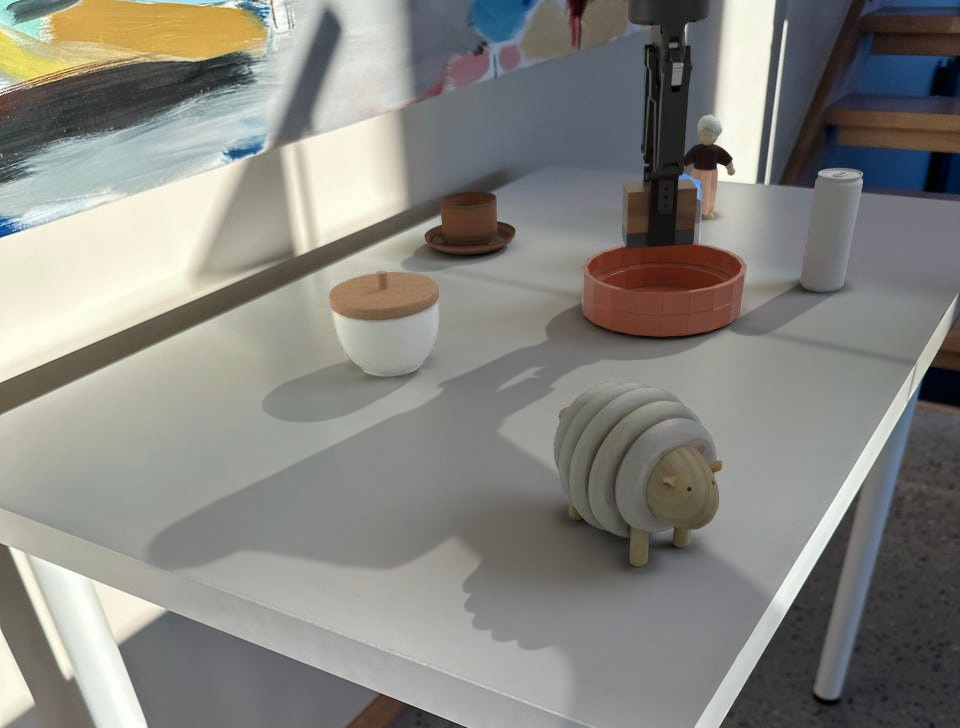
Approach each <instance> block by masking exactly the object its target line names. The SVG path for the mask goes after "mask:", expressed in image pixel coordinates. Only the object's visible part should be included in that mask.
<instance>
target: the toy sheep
mask: <svg viewBox="0 0 960 728" xmlns="http://www.w3.org/2000/svg"><path fill="white" fill-rule="evenodd" d="M558 421H559V422H558V425H557V427H556V431H555V434H554V439H553V458H554V463H555V466H556V469H557V471H558V476H559V478H558V479H559V483H560V486H561V489H562V492H563V494H564V496H565V498H566V499H567V501H568V516H569V518H570V519H571V520H573V521H581V520H584V521H585V522H586V523H588V524H589V525H590V526H592V527H595V528H597V529H599V530H602V531H607V532H609V533H611V534H612V535H615V536H617V537H621V538H622V537H623V538H628V539H629V538H630V540H629V563H630V564H631V565H632V566H634V567H637V568H639V567H644V566H645V565H646V564H647V563H648V559H649V543H650V542H649V541H650V534H653V533H661V532H666V531H670V530H671V529H673V532H672V544H673V545H674V547H677V548H681V549H682V548H687V547H689V545H690V544H691V539H692V531H693V530H699V529H703V528H705V527H706V526H707V525H708V524H709V523H711V522H712V520H714V518H715V516H716V514H717V512H718V510H719V505H720V491H719V486H718V483H717V479H716V477H715V476H716V473H717V472H720V471H722V469H723V461H722V460H718V459H717V457H718V455H717V447H716V444H715V441H714V439H713V437H712V435H711V433H710V432H709V431H708V430H707V428H706V427H705V426H704V425H703V423H702V421H701V420H700V418H699V417H698V416H697V414H696V413H695V411H693V410H692V409H691V408H689V407H688V406H686V405H685V404H684V403H683V402H682V401H681V399H680V398H679V397H677V396H676V395H674V394H673V393H671V392H668V391H667V390H665V389H664V390H663V389H661V388H656V387H651V386H649V385H647V384H644V383H639V382H628V383H627V382H626V383H622V382H615V381H611V382H602V383H599V384H596V385H594V386H592V387H589V388H587V389H586V390H584V391H583V392H582V393H580V394H579V395H578V396H577V397H576V398H574V400H572V402H571V403H570V404H569V405H568V406H566V407H564V408H562V409H561V410H560V411H559V414H558Z"/></svg>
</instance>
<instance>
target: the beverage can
mask: <svg viewBox="0 0 960 728" xmlns="http://www.w3.org/2000/svg"><path fill="white" fill-rule="evenodd" d="M863 175H864V173H863V171H860V170H858V169H853V168H846V167H833V168H826V169H825V168H824V169H822V170H819V171H818V172H817V178H816V179H815V182H814V188H813V194H812V200H811V201H812V202H811V206H810V207H811V208H810V214H809V220H808V221H809V222H808V227H807V234H806V241H805V246H804V254H803V260H802V266H801V275H800V278H799V279H800V280H799V282H800V285H801V287H802V288H803V289H806V290H807V291H810V292H815V293H832V292H838V291H839V290H841V289H842V288H843V286H844V285H845V280H846V273H847V268H848V263H849V257H850V252H851V246H852V241H853V237H854V236H853V235H854V231H855V225H856V221H857V215H858V212H859V211H858V210H859V205H860V201H861V200H860V199H861V195H862V189H863V183H864V181H863V178H862V177H863Z"/></svg>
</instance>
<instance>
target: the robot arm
mask: <svg viewBox="0 0 960 728" xmlns="http://www.w3.org/2000/svg"><path fill="white" fill-rule="evenodd" d="M710 11H711V0H627V20H628V21H629V22H630V23H631V24H633V25H637V26H648V27H650V33H649V43H644V44H643V47H642V62H643V89H642V91H643V93H642V120H641V121H642V123H641V125H642V126H641V129H642V130H641V144H640V152H641V154H642V161H643V164H644V166H643V174H642V175H643V176H642V177H643V178H642V182H647V181H650V196H649V220H648V244H647V245H648V247H654V246H669V245H675V231H676V214H677V197H678V180H679V175H683V171H684V156H685V151H686V149H685V148H686V135H687V120H688V105H689V91H690V83H691V77H692V76H691V75H692V71H693V63H692V59H691V58H692V48H691V44H687V42H686V25H687V24H690V23H698V22H701V21H705V20H706V19H707V18H708V17H709V15H710ZM684 172H685V171H684Z"/></svg>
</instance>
